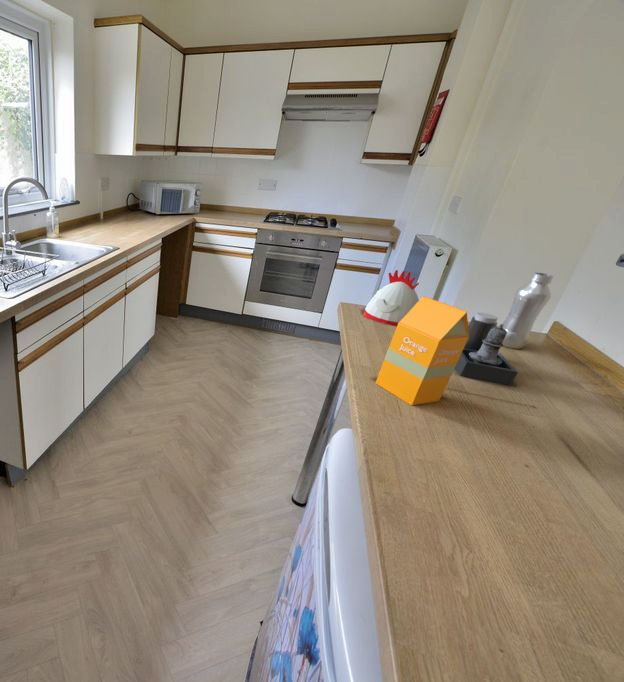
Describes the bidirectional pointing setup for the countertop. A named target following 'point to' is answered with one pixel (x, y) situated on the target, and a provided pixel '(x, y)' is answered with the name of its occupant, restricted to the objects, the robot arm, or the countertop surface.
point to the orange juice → (424, 351)
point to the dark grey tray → (486, 369)
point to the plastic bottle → (526, 310)
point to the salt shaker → (490, 348)
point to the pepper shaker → (479, 329)
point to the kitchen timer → (393, 300)
